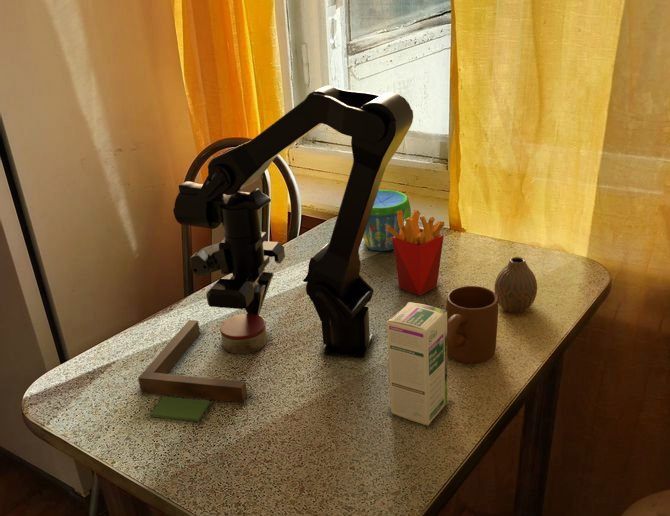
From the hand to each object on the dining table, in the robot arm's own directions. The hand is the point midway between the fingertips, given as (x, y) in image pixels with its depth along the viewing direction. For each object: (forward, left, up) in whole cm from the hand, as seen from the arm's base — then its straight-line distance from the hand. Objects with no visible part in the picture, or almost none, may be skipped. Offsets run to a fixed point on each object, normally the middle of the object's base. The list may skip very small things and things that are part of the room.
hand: (254, 319), depth 110 cm
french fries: (-25, -17, -2) cm, 30 cm away
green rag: (+2, +23, -2) cm, 23 cm away
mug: (-35, +4, -2) cm, 35 cm away
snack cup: (-15, -36, -2) cm, 39 cm away
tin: (0, +5, -2) cm, 5 cm away
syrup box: (-30, +17, -2) cm, 34 cm away
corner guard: (+2, +12, -2) cm, 12 cm away
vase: (-42, -13, -2) cm, 44 cm away
